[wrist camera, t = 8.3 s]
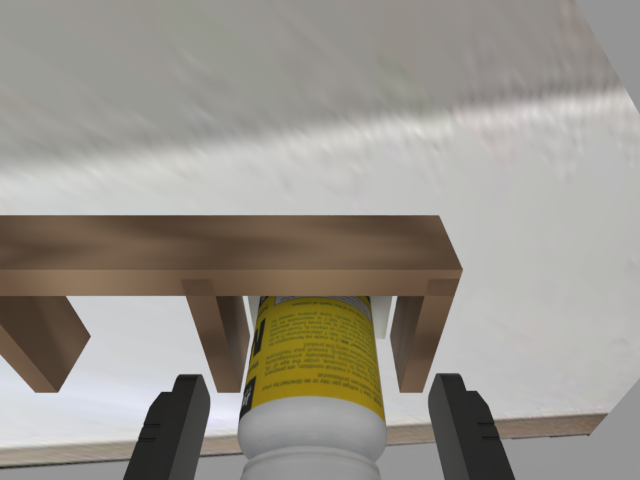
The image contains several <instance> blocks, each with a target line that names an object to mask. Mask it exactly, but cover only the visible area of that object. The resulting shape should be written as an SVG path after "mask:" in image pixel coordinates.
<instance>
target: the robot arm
mask: <svg viewBox="0 0 640 480" xmlns="http://www.w3.org/2000/svg"><path fill="white" fill-rule="evenodd" d="M210 404H211V400H210V394H209V392H208V389H207V386H206V383H205V381H204V378H203V375H202V374H179V375H178V376H177V378H176V380H175V383H174V386H173V389H172V392H161V393H160V394H159V395H158V397H157V398H156V399H155V400H154V402H153V403H152V404H151V406H150V407H149V410H148V412H147V415H146V418H145V420H144V423H143V427H142V429H141V431H140V434H139V437H138V441H137V442H136V445H135V448H134V450H133V453H132V456H131V459H130V461H129V464H128V467H127V469H126V472H125V475H124V478H123V480H194V477H195V473H196V469H197V464H198V460H199V456H200V452H201V447H202V443H203V439H204V435H205V430H206V426H207V422H208V418H209V413H210ZM428 409H429V415H430V419H431V423H432V428H433V432H434V436H435V441H436V445H437V449H438V454H439V458H440V462H441V466H442V471H443V475H444V479H445V480H515V477H514V474H513V471H512V469H511V466H510V463H509V460H508V458H507V455H506V452H505V449H504V447H503V444H502V441H501V440H500V436H499V433H498V430H497V428H496V426H495V422H494V419H493V417H492V414H491V411H490V408H489V406H488V404H487V403H486V402H485V400H484V399H483V398H482V397H481V395H480V394H479V393H478V391H467V390H466V387H465V384H464V381H463V379H462V376H461V375H460V374H459V373H436V375H435V378H434V381H433V383H432V386H431V389H430V392H429V395H428Z"/></svg>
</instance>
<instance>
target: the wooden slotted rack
mask: <svg viewBox="0 0 640 480" xmlns="http://www.w3.org/2000/svg"><path fill="white" fill-rule="evenodd" d="M462 272H463V268H462V266H461V264H460V261H459V259H458V257H457V255H456V252H455V250H454V248H453V246H452V243H451V241H450V239H449V236H448V234H447V232H446V230H445V227H444V225H443V223H442V220H441V218H440V216H439V215H0V355H1V356H2V357H3V358H4V359H5V360H6V361H7V363H8V364H9V365H10V366H11V367H12V368H13V369H14V370H15V371H16V372H17V373H18V375H19V376H20V377H21V378H22V379H23V380H24V381H25V382H26V383H27V384H28V385H29V386H30V388H31V389H32V390H33V391H34V392H35V393H58V392H59V391H60V389H61V387H62V385H63V384H64V382H65V380H66V379H67V377H68V375H69V373H70V372H71V370H72V368H73V367H74V365H75V363H76V361H77V360H78V358H79V356H80V355H81V353H82V351H83V349H84V348H85V346H86V344H87V343H88V341H89V339H90V337H91V335H90V334H89V332H88V331H87V329H86V327H85V326H84V324H83V323H82V321H81V319H80V318H79V316H78V315H77V313H76V311H75V310H74V308H73V307H72V305H71V303H70V302H69V300H68V299H67V297H66V296H186V299H187V302H188V305H189V308H190V311H191V314H192V317H193V320H194V323H195V326H196V329H197V332H198V335H199V338H200V341H201V344H202V347H203V350H204V353H205V356H206V360H207V363H208V366H209V369H210V372H211V375H212V378H213V381H214V384H215V387H216V390H217V393H240V392H241V386H242V381H243V375H244V369H245V364H246V358H247V352H248V347H249V341H250V332H249V327H248V321H247V316H246V311H245V306H244V300H243V296H247V297H248V302H249V308H250V313H251V319H252V325H253V330H254V332H255V326H256V320H257V314H258V307H259V301H260V297H261V296H370V299H371V308H372V316H373V324H374V332H375V339H385V336H386V330H387V325H388V319H389V313H390V308H391V302H392V296H397V300H396V306H395V311H394V316H393V321H392V327H391V332H390V341H391V347H392V352H393V358H394V364H395V369H396V375H397V381H398V386H399V392H400V393H423V390H424V387H425V384H426V381H427V378H428V375H429V372H430V369H431V366H432V363H433V360H434V356H435V353H436V350H437V347H438V344H439V341H440V338H441V335H442V332H443V329H444V326H445V323H446V320H447V317H448V314H449V311H450V308H451V305H452V302H453V299H454V296H455V293H456V290H457V287H458V284H459V281H460V278H461V275H462Z"/></svg>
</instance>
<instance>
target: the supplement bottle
mask: <svg viewBox="0 0 640 480" xmlns="http://www.w3.org/2000/svg"><path fill="white" fill-rule="evenodd" d="M237 437H238V443H239V446H240V448H241V450H242V452H243V454H244V455H245V457H246V458H247V459H248V460H249V461H248V462H247V463H246V464H245V466H244V468H243V472H242V476H241V477H240V480H381V478H380V471H379V468H378V467H377V465H376V464H375V462H376V461H377V460H378V459H379V458H380V457H381V455H382V454H383V452H384V449H385V447H386V443H387V427H386V418H385V411H384V403H383V395H382V388H381V379H380V372H379V364H378V357H377V348H376V340H375V332H374V324H373V316H372V308H371V299H370V296H261V297H260V301H259V307H258V314H257V320H256V326H255V332H254V337H253V343H252V347H251V354H250V360H249V366H248V371H247V377H246V382H245V388H244V392H243V400H242V405H241V409H240V414H239V423H238V431H237Z"/></svg>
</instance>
